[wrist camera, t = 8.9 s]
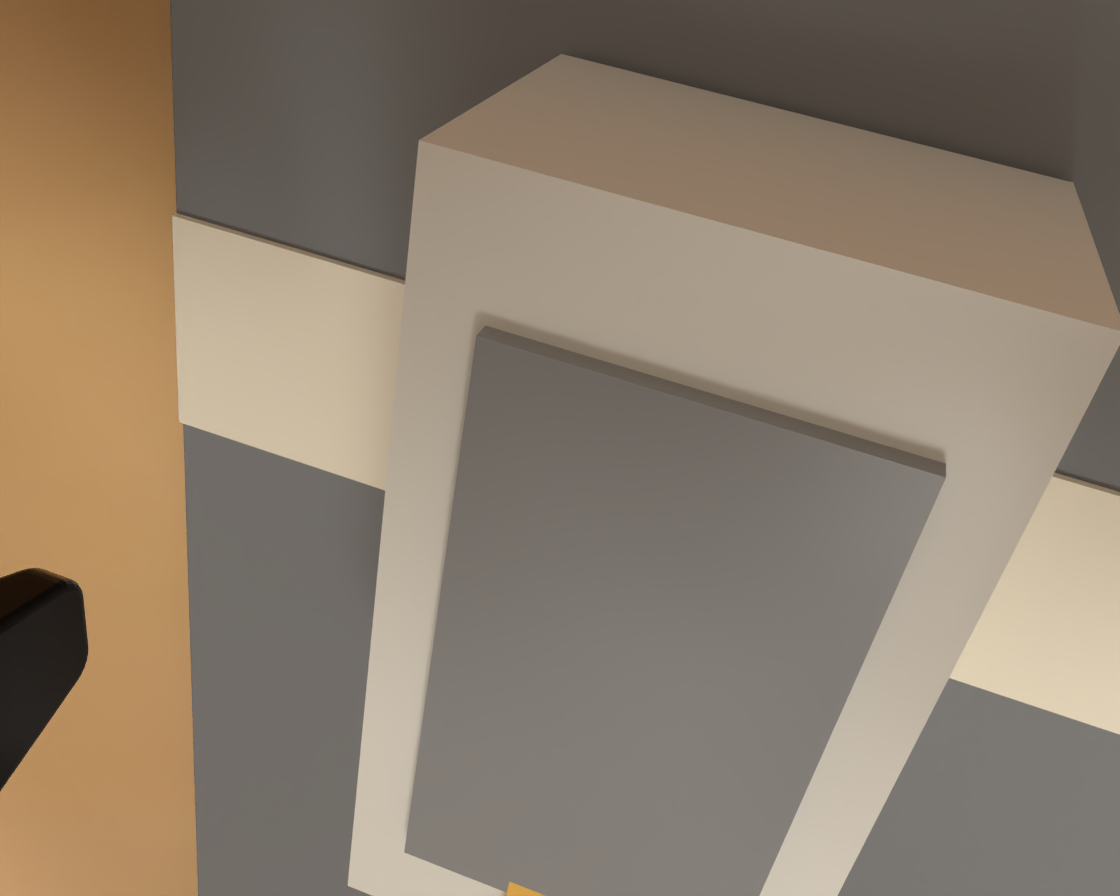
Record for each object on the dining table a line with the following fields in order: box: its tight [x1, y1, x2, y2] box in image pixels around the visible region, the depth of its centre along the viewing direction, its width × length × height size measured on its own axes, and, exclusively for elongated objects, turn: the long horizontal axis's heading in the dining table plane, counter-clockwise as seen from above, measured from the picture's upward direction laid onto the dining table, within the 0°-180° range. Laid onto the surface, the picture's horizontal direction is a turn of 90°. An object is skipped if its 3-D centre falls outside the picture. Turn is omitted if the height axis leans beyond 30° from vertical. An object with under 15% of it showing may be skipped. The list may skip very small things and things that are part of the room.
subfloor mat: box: [170, 0, 1120, 896], centre depth 15 cm, size 14×26×1 cm, turn 170°
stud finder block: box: [348, 54, 1120, 896], centre depth 11 cm, size 5×9×4 cm, turn 170°
